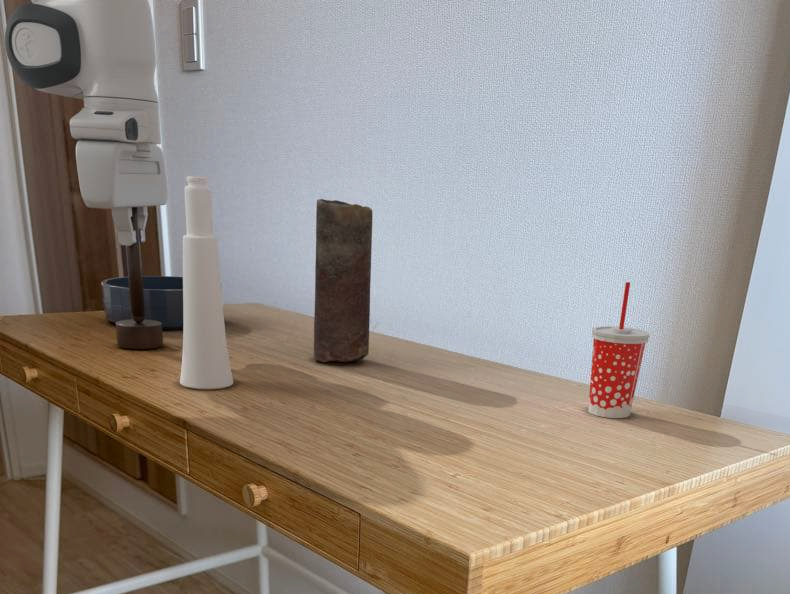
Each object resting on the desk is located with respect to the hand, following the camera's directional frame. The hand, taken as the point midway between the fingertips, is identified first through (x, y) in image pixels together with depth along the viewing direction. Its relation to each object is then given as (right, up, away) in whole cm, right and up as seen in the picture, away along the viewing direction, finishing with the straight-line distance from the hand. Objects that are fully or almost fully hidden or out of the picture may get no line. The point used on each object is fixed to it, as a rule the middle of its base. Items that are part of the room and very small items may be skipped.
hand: (132, 244), depth 109 cm
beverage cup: (+59, -25, -16) cm, 66 cm away
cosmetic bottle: (+13, -21, -13) cm, 28 cm away
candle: (+27, -15, +3) cm, 31 cm away
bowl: (-3, -4, +25) cm, 25 cm away
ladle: (-1, -12, +5) cm, 13 cm away
